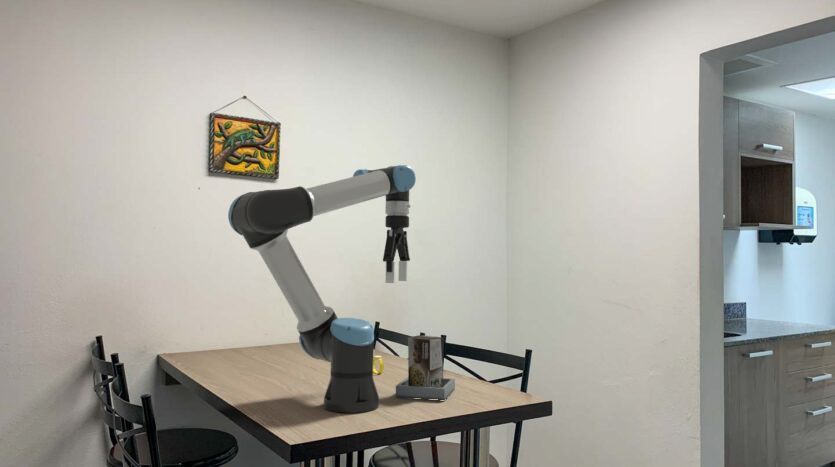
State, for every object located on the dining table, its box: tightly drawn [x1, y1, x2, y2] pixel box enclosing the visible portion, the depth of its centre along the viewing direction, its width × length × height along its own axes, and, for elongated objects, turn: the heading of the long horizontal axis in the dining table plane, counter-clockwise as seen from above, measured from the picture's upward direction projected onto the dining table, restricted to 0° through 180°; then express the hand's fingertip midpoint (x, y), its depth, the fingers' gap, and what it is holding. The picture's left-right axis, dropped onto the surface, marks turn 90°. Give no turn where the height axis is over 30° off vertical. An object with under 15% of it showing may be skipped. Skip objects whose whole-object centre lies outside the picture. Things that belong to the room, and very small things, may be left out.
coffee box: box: [407, 334, 444, 388], centre depth 184 cm, size 9×6×16 cm
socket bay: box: [395, 376, 456, 401], centre depth 183 cm, size 14×14×4 cm
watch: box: [373, 355, 384, 375], centre depth 214 cm, size 6×3×6 cm, turn 37°
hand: (396, 282), depth 195 cm, fingers open, 13 cm apart
